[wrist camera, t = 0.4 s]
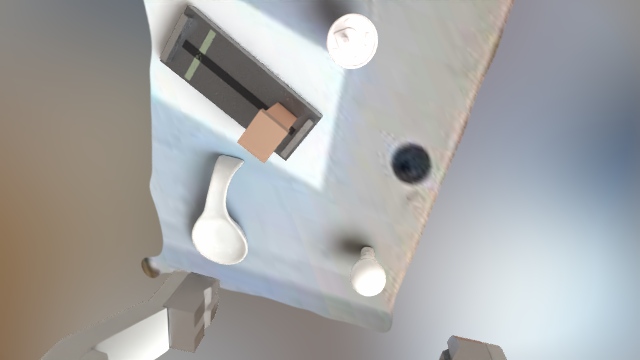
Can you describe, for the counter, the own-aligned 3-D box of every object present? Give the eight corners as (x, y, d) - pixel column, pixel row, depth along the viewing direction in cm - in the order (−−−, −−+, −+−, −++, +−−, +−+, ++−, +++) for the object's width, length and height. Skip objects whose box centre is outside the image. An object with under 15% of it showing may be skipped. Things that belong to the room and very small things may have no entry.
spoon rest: (251, 260, 68) (238, 283, 62) (200, 247, 69) (182, 269, 63) (262, 162, 58) (249, 178, 52) (202, 148, 59) (181, 162, 52)
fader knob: (301, 117, 51) (288, 132, 43) (280, 143, 53) (264, 163, 45) (277, 98, 50) (259, 110, 42) (257, 125, 53) (237, 142, 44)
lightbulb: (371, 231, 61) (371, 269, 51) (390, 253, 62) (394, 294, 52) (345, 246, 63) (341, 285, 53) (364, 267, 65) (363, 309, 55)
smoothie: (345, 9, 46) (336, -2, 33) (384, 29, 46) (389, 26, 34) (327, 52, 49) (312, 57, 36) (364, 70, 49) (362, 82, 36)
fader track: (322, 115, 53) (320, 120, 50) (288, 157, 57) (283, 164, 54) (194, 6, 48) (182, 4, 45) (167, 59, 53) (154, 61, 49)
